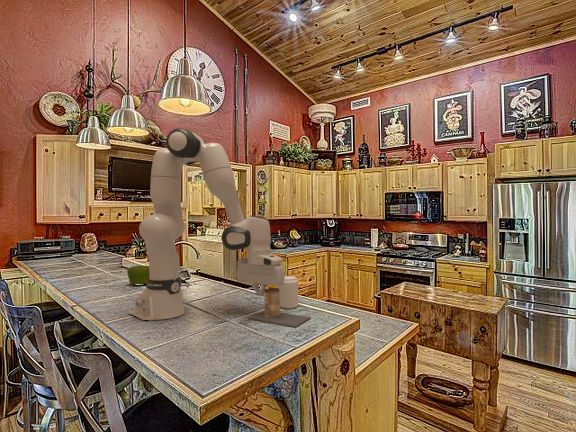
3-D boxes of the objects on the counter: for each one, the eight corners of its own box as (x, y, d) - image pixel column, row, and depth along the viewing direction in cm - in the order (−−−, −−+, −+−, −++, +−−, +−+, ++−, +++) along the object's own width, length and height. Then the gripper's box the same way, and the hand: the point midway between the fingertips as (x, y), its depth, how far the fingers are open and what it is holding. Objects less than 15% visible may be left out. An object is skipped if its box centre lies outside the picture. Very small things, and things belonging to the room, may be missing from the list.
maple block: (264, 316, 124) (264, 289, 124) (270, 314, 127) (270, 287, 127) (273, 318, 122) (273, 290, 122) (279, 315, 125) (279, 288, 125)
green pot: (123, 287, 183) (122, 266, 183) (136, 282, 195) (136, 262, 195) (144, 287, 181) (143, 266, 181) (156, 282, 193) (156, 263, 193)
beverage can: (302, 306, 139) (301, 277, 139) (289, 310, 133) (288, 280, 133) (288, 303, 145) (287, 275, 145) (274, 307, 139) (274, 277, 139)
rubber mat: (248, 319, 123) (248, 317, 123) (265, 311, 133) (265, 309, 133) (295, 328, 113) (295, 326, 113) (310, 318, 122) (310, 317, 122)
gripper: (232, 258, 130) (233, 294, 130) (277, 261, 119) (277, 300, 119) (242, 256, 135) (243, 290, 135) (286, 258, 125) (287, 296, 125)
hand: (259, 295), depth 127 cm, fingers closed
